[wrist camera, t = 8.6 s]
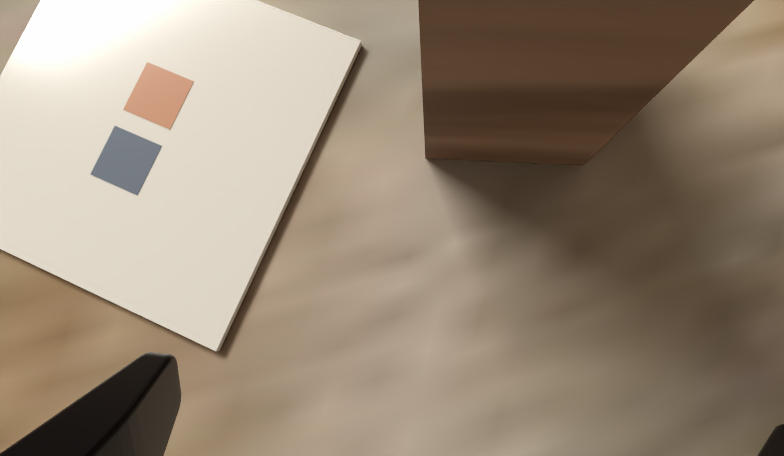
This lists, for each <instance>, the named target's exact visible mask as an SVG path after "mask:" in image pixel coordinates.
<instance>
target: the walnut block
mask: <svg viewBox="0 0 784 456" xmlns="http://www.w3.org/2000/svg"><path fill="white" fill-rule="evenodd" d="M418 1H419V24H420V46H421V68H422V91H423V113H424V136H425V158H432V159H455V160H477V161H499V162H522V163H544V164H567V165H584V164H585V163H586V162H587V161H588V160H589V159H590V158H591V157H593V156H594V155H595V154H596V153H597V152H598V151H599V150H600V149H601V148H602V147H603V146H604V145H605V144H606V143H607V142H608V141H609V140H610V139H611V138H612V137H613V136H614V135H615V134H616V133H617V132H618V131H619V130H620V129H621V128H622V127H624V126H625V125H626V124H627V123H628V122H629V121H630V120H631V119H632V118H633V117H634V116H635V115H636V114H637V113H638V112H639V111H640V110H641V109H642V108H643V107H644V106H645V105H646V104H647V103H648V102H649V101H650V100H651V99H652V98H653V97H655V96H656V95H657V94H658V93H659V92H660V91H661V90H662V89H663V88H664V87H665V86H666V85H667V84H668V83H669V82H670V81H671V80H672V79H673V78H674V77H675V76H676V75H677V74H678V73H679V72H680V71H681V70H682V69H683V68H685V67H686V66H687V65H688V64H689V63H690V62H691V61H692V60H693V59H694V58H695V57H696V56H697V55H698V54H699V53H700V52H701V51H702V50H703V49H704V48H705V47H706V46H707V45H708V44H709V43H710V42H711V41H712V40H713V39H714V38H716V37H717V36H718V35H719V34H720V33H721V32H722V31H723V30H724V29H725V28H726V27H727V26H728V25H729V24H730V23H731V22H732V21H733V20H734V19H735V18H736V17H737V16H738V15H739V14H740V13H741V12H742V11H743V10H744V9H746V8H747V7H748V6H749V5H750V4H751V3H752V2H753V1H754V0H418Z"/></svg>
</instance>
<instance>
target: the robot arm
mask: <svg viewBox="0 0 784 456" xmlns="http://www.w3.org/2000/svg"><path fill="white" fill-rule="evenodd" d="M180 402H181V389H180V381H179V374H178V366H177V361H176V358H175V357H174V356H173V355H171V354H162V353H153V352H149V353H145V354H143V355H141V356H140V357H139V358H137V359H136V360H134V361H133V362H131V363H130V364H128V365H127V366H126V367H124V368H123V369H121V370H120V371H118V372H117V373H115V374H114V375H113V376H111V377H110V378H108V379H107V380H105V381H104V382H103V383H101V384H100V385H98V386H97V387H95V388H94V389H92V390H91V391H90V392H88V393H87V394H85V395H84V396H82V397H81V398H79V399H78V400H77V401H75V402H74V403H72V404H71V405H69V406H68V407H67V408H65V409H64V410H62V411H61V412H59V413H58V414H56V415H55V416H54V417H52V418H51V419H49V420H48V421H46V422H45V423H43V424H42V425H41V426H39V427H38V428H36V429H35V430H33V431H32V432H31V433H29V434H28V435H26V436H25V437H23V438H22V439H20V440H19V441H18V442H16V443H15V444H13V445H12V446H10V447H9V448H7V449H6V450H5V451H3V452H2V453H0V456H163V455H164V452H165V449H166V446H167V443H168V440H169V438H170V435H171V432H172V429H173V426H174V423H175V420H176V417H177V414H178V411H179V407H180ZM758 456H784V424H781V425H779V426H777V427H776V428H775V429H774V430H773V432H772V433H771V435H770V437H769V438H768V440H767V441H766V443H765V445H764V446H763V448H762V449H761V451H760V452H759V454H758Z"/></svg>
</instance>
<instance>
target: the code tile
mask: <svg viewBox="0 0 784 456" xmlns="http://www.w3.org/2000/svg"><path fill="white" fill-rule="evenodd" d="M361 46H362V43H361V41H360V40H357V39H355V38H352V37H350V36H347V35H345V34H342V33H340V32H337V31H334V30H332V29H329V28H327V27H324V26H322V25H319V24H316V23H314V22H311V21H309V20H306V19H304V18H301V17H298V16H296V15H293V14H291V13H288V12H286V11H283V10H280V9H278V8H275V7H273V6H270V5H268V4H265V3H262V2H260V1H257V0H41V1H40V3H39V4H38V6H37V8H36V10H35V12H34V14H33V16H32V17H31V19H30V21H29V23H28V25H27V27H26V29H25V31H24V32H23V34H22V36H21V38H20V40H19V42H18V44H17V45H16V47H15V49H14V51H13V53H12V55H11V57H10V59H9V60H8V62H7V64H6V66H5V68H4V70H3V72H2V73H1V75H0V249H1V250H3V251H6V252H8V253H10V254H12V255H14V256H16V257H18V258H20V259H22V260H24V261H27V262H29V263H31V264H33V265H35V266H37V267H39V268H41V269H43V270H45V271H48V272H50V273H52V274H54V275H56V276H58V277H60V278H62V279H64V280H67V281H69V282H71V283H73V284H75V285H77V286H79V287H81V288H83V289H85V290H88V291H90V292H92V293H94V294H96V295H98V296H100V297H102V298H104V299H106V300H109V301H111V302H113V303H115V304H117V305H119V306H121V307H123V308H125V309H128V310H130V311H132V312H134V313H136V314H138V315H140V316H142V317H144V318H146V319H149V320H151V321H153V322H155V323H157V324H159V325H161V326H163V327H165V328H167V329H170V330H172V331H174V332H176V333H178V334H180V335H182V336H184V337H186V338H189V339H191V340H193V341H195V342H197V343H199V344H201V345H203V346H205V347H207V348H210V349H212V350H214V351H220V349H221V346H222V344H223V342H224V340H225V338H226V336H227V334H228V331H229V329H230V327H231V325H232V323H233V321H234V319H235V316H236V314H237V312H238V310H239V308H240V306H241V303H242V301H243V299H244V297H245V295H246V293H247V291H248V288H249V286H250V284H251V282H252V280H253V278H254V276H255V273H256V271H257V269H258V267H259V265H260V263H261V261H262V258H263V256H264V254H265V252H266V250H267V248H268V246H269V243H270V241H271V239H272V237H273V235H274V233H275V231H276V228H277V226H278V224H279V222H280V220H281V218H282V215H283V213H284V211H285V209H286V207H287V205H288V203H289V200H290V198H291V196H292V194H293V192H294V190H295V188H296V185H297V183H298V181H299V179H300V177H301V175H302V173H303V170H304V168H305V166H306V164H307V162H308V160H309V158H310V155H311V153H312V151H313V149H314V147H315V145H316V143H317V140H318V138H319V136H320V134H321V132H322V130H323V127H324V125H325V123H326V121H327V119H328V117H329V115H330V112H331V110H332V108H333V106H334V104H335V102H336V100H337V97H338V95H339V93H340V91H341V89H342V87H343V85H344V82H345V80H346V78H347V76H348V74H349V72H350V70H351V67H352V65H353V63H354V61H355V59H356V57H357V55H358V52H359V50H360V48H361Z"/></svg>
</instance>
